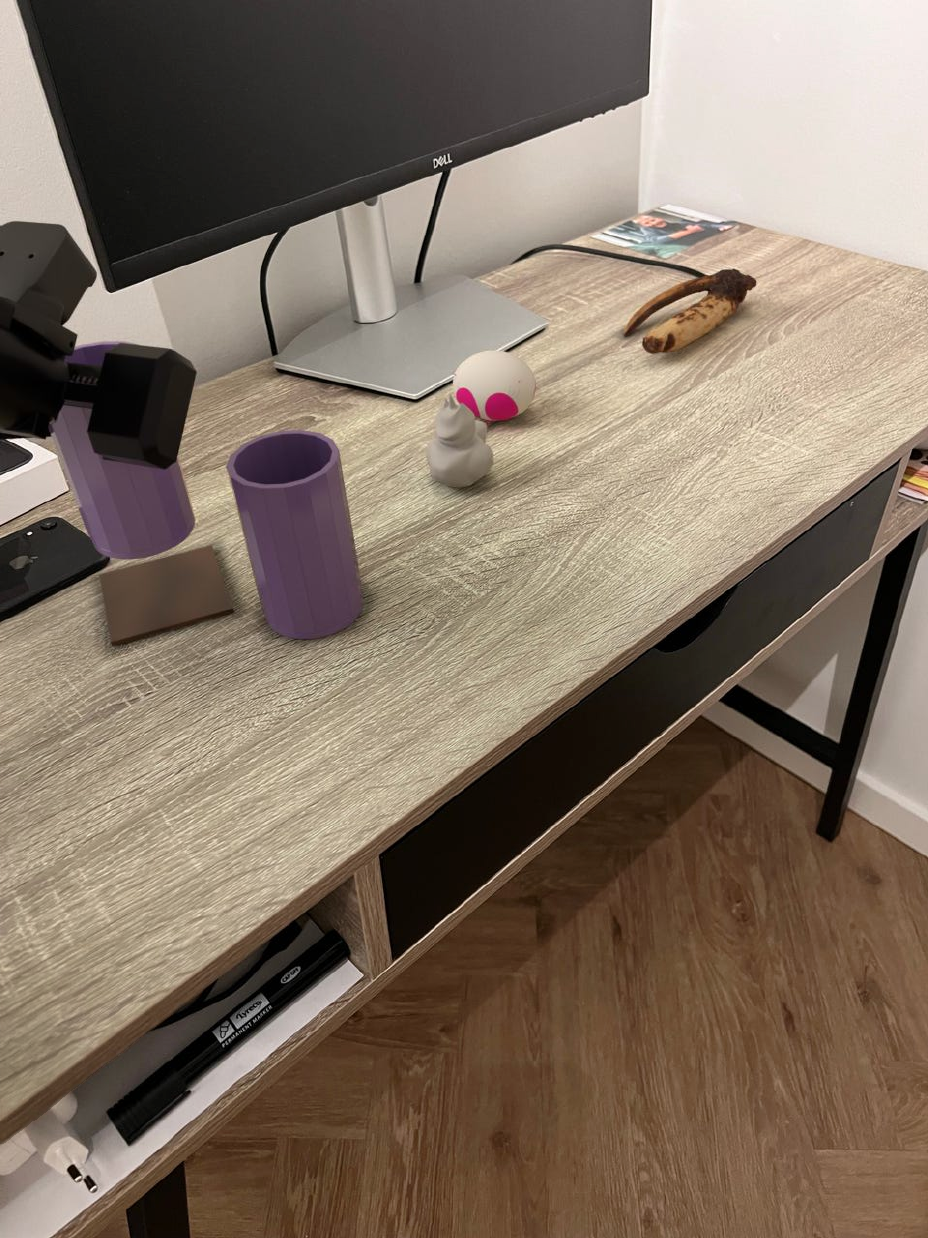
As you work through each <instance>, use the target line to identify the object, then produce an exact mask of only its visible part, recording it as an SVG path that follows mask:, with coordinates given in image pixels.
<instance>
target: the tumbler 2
mask: <svg viewBox="0 0 928 1238" xmlns="http://www.w3.org/2000/svg"><path fill="white" fill-rule="evenodd" d="M225 468H226V471H227V477H228V480H229V484H230V487H231V491H232V495H233V500H234V503H235V506H236V507H235V508H236V511H237V515H238V519H239V524H240V527H241V531H242V535H243V539H244V542H245V543H244V544H245V547H246V551H247V555H248V558H249V562H250V566H251V570H252V575H253V578H254V583H255V586H256V590H257V594H258V597H259V601H260V605H261V609H262V612H263V616H264V619H265V622H266V624H267V625H268V626H269V628H270V629H271V630H272V631H273V632H276V633H277V634H278V635H280V636H283V637H286V638H288V639H289V638H290V639H293V640H295V639H296V640H314V639H315V640H316V639H321V638H325V637H329V636H331V635H334V634H337V633H338V632H341V631H342V630H344V629H346V628H347V627H349V626H350V625H352V623H354V621H355V620H356V619H357V618H358V617H359V616H360V614H361V612H362V611H363V606H364V596H363V594H364V591H363V590H364V589H363V584H362V579H361V573H360V568H359V560H358V554H357V549H356V543H355V536H354V529H353V524H352V519H351V512H350V507H349V500H348V495H347V489H346V483H345V477H344V470H343V465H342V458H341V452H340V449H339V447H338V445H337V444H336V442H335V440H334V439H332V438H330V437H329V436H326V435H325V434H323V433H321V432H318V431H317V432H316V431H310V430H305V429H293V430H279V431H275V432H271V433H266V434H263V435H259V436H257V437H254V438H253V439H250V440H248V441H246V442H244V443H242V444H241V445H240V446H239V447H238V448H236V449H235V450H234V451H233V452H232V453H231V454H230V455H229V457H228V460H227V463H226V466H225Z"/></svg>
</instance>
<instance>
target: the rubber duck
mask: <svg viewBox="0 0 928 1238" xmlns="http://www.w3.org/2000/svg"><path fill="white" fill-rule="evenodd" d="M485 423H486V422H485V421H482V420H478V419H477V420H476V416H475V415H474V414H473V412H472V411H471V410H470V409H469V408H468V407H467V406H465V405H464V404H463V403H461V404H457V403H456V402H455V400H454V398H453V396H452V394H451V393H449V395H448V399H447V398H444V400H443V402H442V405H441V407H440V409H439V411H438V412H437V414H436V416H435V421H434V435H435V436H434V437H433V438H432V439H430V441H429V442H428V444H427V446H426V454H425V455H426V461H427V465H428V467H429V472H430V475H431V477H432V478H433V480H434V481H436V482H437V483H438V484H441V485H445V486H447V487H450V488H451V487H452V488H466V487H469V486H472V485H473V484H475V483H476V482H477V481H479V480H481V479H482V478H483V477H484V476H485V475H486V474H487V473H488V472H490V470H492V467H493V463H494V452H493V449H492V447H491V446H490V445H489V444H487V441H486V440H487V435H488V424H487V425H486V424H485Z"/></svg>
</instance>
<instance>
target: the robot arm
mask: <svg viewBox="0 0 928 1238" xmlns="http://www.w3.org/2000/svg"><path fill="white" fill-rule="evenodd" d="M97 279H98V272H97V269H96V268H95V267H94V266H93V264H92V262H90V260H89V259H88V257H87V255H86V254H85V252H84V251H83V250H82V249H81V247H80V246H79V244H78V243H77V242H76V241H75V238H73V236H72V235H71V234H70V232H69V231H68V229H67V228H66V227H65V226H64V225H62V224H59V223H48V222H36V221H22V220H21V221H20V220H13V221H8V222H6V223H3V224H1V225H0V441H2V440H4V441H5V440H19V439H40V440H44V441H45V440H47V438H52V436H51V433H50V430H49V424H54V423H56V421H57V419H58V415H59V412H60V410H61V409H62V407H63V405H67V406H73V407H80V408H87V409H92V412H91V416H90V420H89V424H88V428H87V434H88V437H89V440H90V442H91V445H92V448H93V451H94V453H96V454H98V455H101V456H103V459H104V460H109V461H115V462H121V463H127V464H133V465H139V466H145V467H151V468H157V469H163V470H166V469H167V468H169V467H170V466H171V465H172V464H174V463H175V462H176V460H177V456H178V457H179V452H180V448H181V442H182V440H183V439H182V438H183V434H184V430H185V427H186V421H187V417H188V412H189V408H190V404H191V399H192V395H193V391H194V387H195V382H196V377H197V373H198V371H197V369H196V368H195V366H194V364H193V363H192V361H191V360H189V359H188V358H187V357H185V356H183V355H182V354H180V353H179V352H177V350H174V349H173V348H167V347H160V346H159V347H158V346H151V345H143V344H139V345H135V344H136V343H134V344H127V343H119V344H117V345H116V346H114V347H113V348H112V349H110V350H109V351H107V352H106V353H105V356H104V361H103V365H102V366H93V365H85V364H78V363H70V362H64V361H65V356H72V355H73V353H74V349H75V347H76V345H77V340H78V333H76V332H74V331H72V330H70V329H69V328H67V327H65V326H64V325H66V323H68V322H69V320H70V319H71V317H72V316H73V314H74V312H75V310H76V309H77V307H78V305H79V304H80V302H81V301H82V299H83V297H84V295H85V293H86V291H88V288H91V287H93V285H94V284H95V282H96V281H97ZM70 381H72V382H70ZM75 382H78V383H75ZM81 382H83V383H84V384H82V383H81ZM87 383H89V384H91V385H89V384H87ZM93 384H95V385H93Z"/></svg>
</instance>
